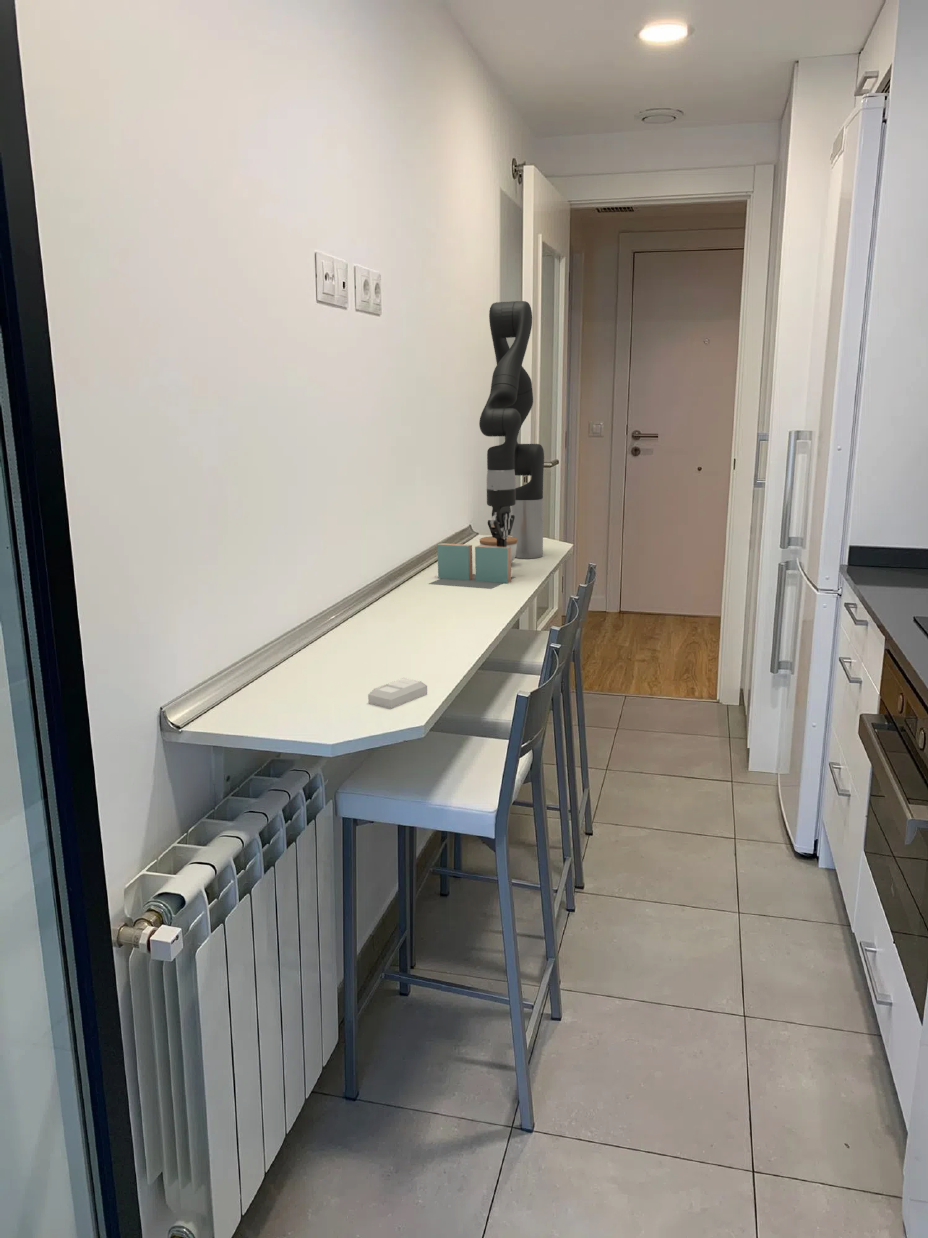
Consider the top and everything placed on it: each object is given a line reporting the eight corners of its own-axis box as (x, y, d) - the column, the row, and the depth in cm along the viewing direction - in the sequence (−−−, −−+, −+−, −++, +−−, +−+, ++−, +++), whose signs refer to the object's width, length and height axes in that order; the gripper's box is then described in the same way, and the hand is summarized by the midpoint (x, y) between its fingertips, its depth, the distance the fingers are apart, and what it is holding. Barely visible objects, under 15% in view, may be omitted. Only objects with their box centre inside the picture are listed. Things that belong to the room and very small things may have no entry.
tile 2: (479, 579, 249) (478, 545, 247) (511, 581, 245) (510, 547, 243) (475, 580, 247) (475, 546, 244) (507, 583, 243) (507, 548, 241)
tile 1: (442, 576, 253) (441, 543, 251) (472, 578, 249) (472, 544, 247) (438, 578, 251) (437, 544, 249) (468, 580, 247) (468, 546, 245)
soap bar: (427, 695, 157) (426, 680, 156) (391, 710, 150) (390, 694, 149) (405, 690, 160) (404, 675, 159) (368, 705, 153) (367, 689, 152)
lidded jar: (518, 568, 264) (518, 535, 262) (479, 569, 264) (479, 536, 262) (516, 562, 275) (516, 529, 272) (480, 562, 275) (479, 530, 273)
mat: (455, 574, 258) (455, 572, 258) (516, 578, 250) (516, 577, 250) (427, 585, 244) (427, 583, 244) (491, 590, 236) (491, 588, 236)
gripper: (498, 484, 252) (498, 548, 256) (477, 489, 241) (478, 556, 245) (524, 485, 249) (524, 549, 253) (504, 489, 238) (504, 557, 242)
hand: (501, 552), depth 249 cm, fingers closed
